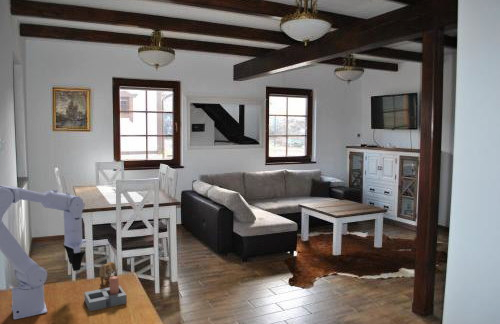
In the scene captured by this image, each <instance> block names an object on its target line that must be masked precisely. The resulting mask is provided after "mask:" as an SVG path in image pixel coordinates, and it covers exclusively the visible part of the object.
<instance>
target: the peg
mask: <svg viewBox="0 0 500 324" xmlns="http://www.w3.org/2000/svg"><path fill="white" fill-rule="evenodd" d="M109 281H110V285H109V287H110V295H115V294H119V284H120V283H119V281H120V280H119V276H118V275H117V276H114V275H113V276H110V278H109Z"/></svg>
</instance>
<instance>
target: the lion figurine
mask: <svg viewBox="0 0 500 324" xmlns="http://www.w3.org/2000/svg"><path fill="white" fill-rule="evenodd" d="M112 274H114V275H113V276H117V277H118V271H117V268H116V264H115V262H114V261H109V262H107V263H103V264H102V265H101V266H100V267H99V269H98V277H99V279H100V284H99V285H100V287H102V286H104V284H105V283H104V280H107V281H106V283H107V286H110V281H109V278H110V277H111V275H112Z"/></svg>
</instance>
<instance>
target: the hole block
mask: <svg viewBox="0 0 500 324" xmlns="http://www.w3.org/2000/svg"><path fill="white" fill-rule="evenodd" d="M83 294H84V302H85V304H86V306H87V309H88V311H89V312H92V311H98V310H99V311H100V310H102V309H103V310H104V309H107V308H111V307H116V306H120V305H125V304H127V301H128V300H127V294H126V292H125V291H124V289H123V288H122V286H121V285H119V294H115V295H110V286H109V287H105V288H101V289H95V290H90V291H85V292H84V293H83Z"/></svg>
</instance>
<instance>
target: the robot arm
mask: <svg viewBox="0 0 500 324" xmlns="http://www.w3.org/2000/svg"><path fill="white" fill-rule="evenodd" d="M20 200H21V201H27V202H28V201H29V202H35V203H41V205H42V207H43V208H45V209H50V210H58V211H63V227H64V229H63V230H64V232H63V233H64V242H63V243H64V244H63V247H64V250H65V251H66V255H67V258H68V259H67V260H68V262H69V264H70V265H71V268H72V270H73V272H76V271H80V270H81V268H82V267H81V266H82V262H83V258H84V256H85V254H86V250H85V249H82V250H81V247H82V246H83V244H85V243H87V240H86V239H83V220H82V219H83V218H82V216H83V211H84V208H85V207H86V206H85V205H86V203H85V202H84V200H83V198H82V197H80V196H77V195H74V194H73V195H72V194H71V193H69V192H66V193H63V192H59V190H58V189H51V190H47V191H45V192H38V191H34V190H30V189H25V188H22V187H17V186H11V185H0V252H1V253H2V254H3V255H4V256H5V258H6V259H7V261H8V262H9V263H10V264H11V266H10V267H11V269H12V271H13V275H14V278H15V279H16V280H17V281H18V285H17V286H15V287H12V288H11V301H12V302H11V303H12V304H11V308H10V309H11V312H12V315H13V317H12V318H13V320H19V319H23V318H29V317H33V316H36V315H42V314H46V313H48V309H47V305H46V302H45V285H44V284H45V282H46V281H47V278H48V271H47V269H46V268H44V267H41V266H39V265H38V263H37V262H36V261H34V260H33V259H32V258H31V257H30V256H29V255H28V253H27V252H26V251H25V250H24V248H23V247H22V246H21V245H20V243H19V242H18V240H17V238H15V237H14V235H13V233H12V232H11V231H10V230H9V229H8V227H7V225H6V224H4V221H2V219H3V217H4V215H5V213H7V211H8V209H9V208H10V207H11V206H12V204H13V203H14V204H16V203H17V202H19V201H20Z"/></svg>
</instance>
